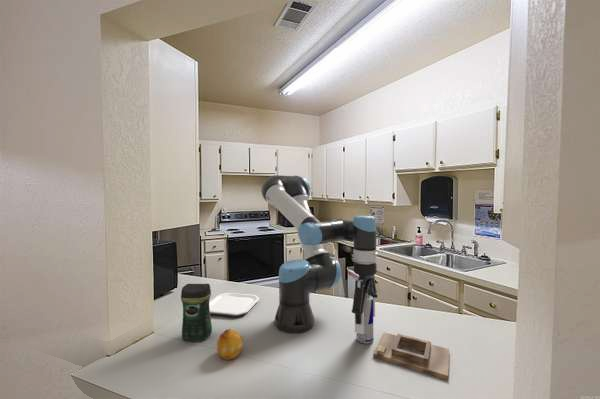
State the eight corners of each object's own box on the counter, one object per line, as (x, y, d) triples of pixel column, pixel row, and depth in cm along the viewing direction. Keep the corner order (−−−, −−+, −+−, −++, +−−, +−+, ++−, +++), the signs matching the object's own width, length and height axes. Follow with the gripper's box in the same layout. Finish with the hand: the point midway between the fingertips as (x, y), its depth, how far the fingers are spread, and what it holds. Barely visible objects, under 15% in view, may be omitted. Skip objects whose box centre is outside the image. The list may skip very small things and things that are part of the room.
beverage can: (373, 345, 87) (374, 300, 87) (356, 343, 88) (356, 299, 88) (372, 336, 93) (372, 294, 92) (356, 334, 94) (356, 292, 93)
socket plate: (373, 357, 81) (373, 347, 81) (383, 335, 93) (383, 327, 93) (448, 380, 71) (448, 369, 71) (449, 352, 83) (449, 343, 83)
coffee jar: (214, 330, 97) (213, 280, 97) (206, 342, 89) (205, 288, 89) (188, 330, 98) (187, 280, 97) (178, 342, 90) (177, 288, 89)
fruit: (207, 347, 82) (217, 329, 80) (228, 338, 89) (237, 320, 87) (221, 370, 78) (232, 351, 76) (242, 358, 85) (252, 340, 83)
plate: (197, 315, 110) (197, 310, 110) (222, 296, 130) (222, 291, 130) (243, 320, 105) (243, 315, 105) (262, 299, 126) (262, 295, 125)
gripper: (365, 272, 77) (365, 344, 77) (384, 255, 99) (385, 311, 99) (340, 269, 81) (341, 338, 81) (364, 253, 102) (365, 307, 103)
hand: (365, 323), depth 90 cm, fingers open, 13 cm apart
